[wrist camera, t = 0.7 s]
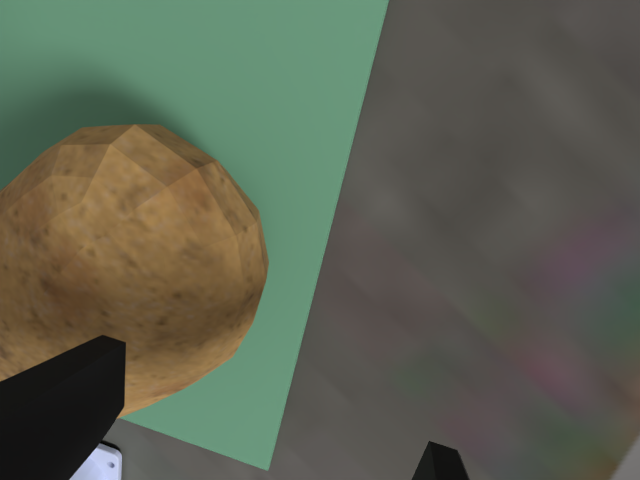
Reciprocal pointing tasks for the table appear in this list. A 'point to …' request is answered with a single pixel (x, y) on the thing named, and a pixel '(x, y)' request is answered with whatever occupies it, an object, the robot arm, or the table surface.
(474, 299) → the table surface
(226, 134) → the green mat
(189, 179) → the potato
